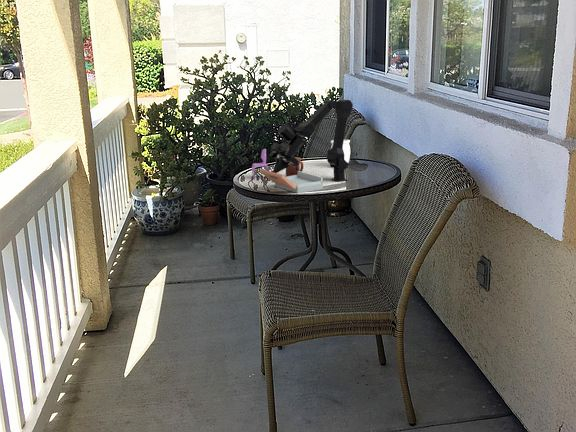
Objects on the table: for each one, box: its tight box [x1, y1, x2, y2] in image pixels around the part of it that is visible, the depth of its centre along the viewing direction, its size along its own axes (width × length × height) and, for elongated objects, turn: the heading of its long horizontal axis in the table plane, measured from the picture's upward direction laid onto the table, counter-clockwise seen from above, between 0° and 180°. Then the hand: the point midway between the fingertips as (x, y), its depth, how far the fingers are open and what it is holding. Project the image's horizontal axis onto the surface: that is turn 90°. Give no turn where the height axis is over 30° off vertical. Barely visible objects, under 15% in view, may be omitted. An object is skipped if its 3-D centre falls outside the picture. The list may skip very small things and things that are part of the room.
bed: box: [274, 171, 324, 194], centre depth 281 cm, size 14×21×6 cm
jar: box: [330, 138, 351, 168], centre depth 324 cm, size 11×10×15 cm
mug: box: [285, 156, 304, 177], centre depth 300 cm, size 12×9×10 cm
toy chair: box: [251, 148, 270, 180], centre depth 307 cm, size 8×9×15 cm
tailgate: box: [259, 168, 296, 189], centre depth 275 cm, size 2×20×10 cm
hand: (273, 173), depth 273 cm, fingers closed
